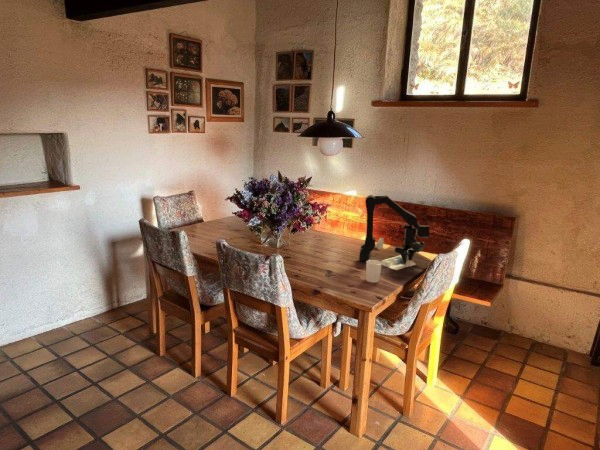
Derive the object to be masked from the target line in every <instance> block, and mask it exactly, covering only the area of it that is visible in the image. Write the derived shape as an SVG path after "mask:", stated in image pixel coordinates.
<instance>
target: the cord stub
mask: <svg viewBox="0 0 600 450" xmlns="http://www.w3.org/2000/svg"><path fill="white" fill-rule="evenodd" d="M398 258H400V257H398ZM400 262H401V263H404V262H403V259H402V258H400ZM413 263H415V262H414V260H409V259H407V261H406V263H404V264H406V265H407V266H409V267H413V266H414V265H413Z"/></svg>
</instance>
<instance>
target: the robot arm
mask: <svg viewBox="0 0 600 450" xmlns="http://www.w3.org/2000/svg"><path fill="white" fill-rule="evenodd" d="M383 204H385V205H386V206H388V207H389V208H391V209H392V210H393V211H394V212H395V213H397V214H398V215H399V216H401V218H402V219H403V221H405V222H406V223H404V225H402V229H403V230H405V232H404V237H402V239H403V240H404V241H403V244H402V246H401V245H400V246H396V247H395V248H394V252H395V253H397V254H399V255H401V257H402V259H403V262H404V263H406V261H407V260H411V261H413V258H414V255H415V254H416V253H420V252H422V251H423V249H425V245H426V244H425V242H424V241H421V242H419V241H418V240H417V239H418V238H427V239H429V238H430V236H431V235H430V226H429V225H420V223H419V221H418V218H417V216H416V215H415V214H414V213H412V212H410V211H408V210H406V209H405V208H403V207H402V206H400V204H398V203H397V202H396V201H394V200H393V199H392V198H390V197H389V196H388V195H387V194H386V195H375V196H374V195H372V194H369V195H367V196H366V197H365V207H366V208H365V209H366V213H367V214H366V235H365V238H364V239H365V240H364V244H362V245H361V246H360V249H359V256H358V261H359V262H360V263H362V264H363V263H364V264H366V261H368V260H372V259H371V258H372V257H371V256H372V254H371V253H372V252H373V251H374V249H375V248H376V242H377V241H376V237H374V234H373V233H374V232H373V231H374V213H375V208H376V206H378V205H383ZM416 236H418V238H417V237H416Z"/></svg>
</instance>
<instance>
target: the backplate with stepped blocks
mask: <svg viewBox="0 0 600 450" xmlns="http://www.w3.org/2000/svg"><path fill="white" fill-rule="evenodd" d="M398 257H400V258H402V257H401V254H399V255H397V256H396V255H395V256H394V257H393V256H392V257H390V258H386V259H382V260H381V261H380V262H382V265H381V266H383V267H386V268H388V269H389V268H390V269H392V270H395V271H400V270H401V269H406V268H408V267H410V266H407V265H406V264H404V263H401V262H400V258H398ZM415 265H416V263H415V262H413V266H415Z"/></svg>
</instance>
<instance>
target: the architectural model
mask: <svg viewBox="0 0 600 450" xmlns="http://www.w3.org/2000/svg"><path fill="white" fill-rule="evenodd" d="M375 246H376V250H381V249H383V247H384V237H379V238H378V241H376V242H375Z"/></svg>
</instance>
